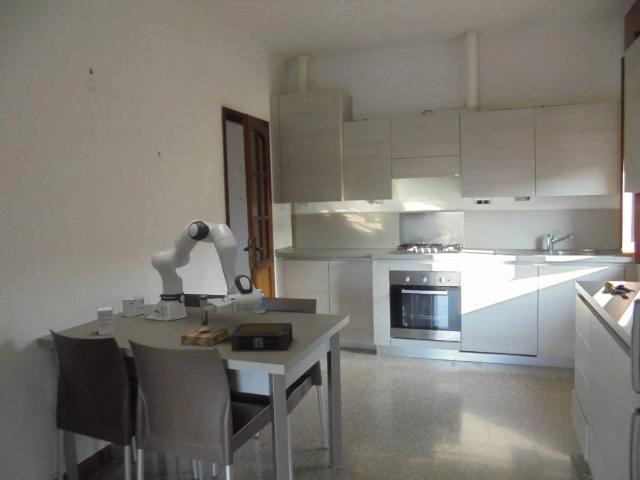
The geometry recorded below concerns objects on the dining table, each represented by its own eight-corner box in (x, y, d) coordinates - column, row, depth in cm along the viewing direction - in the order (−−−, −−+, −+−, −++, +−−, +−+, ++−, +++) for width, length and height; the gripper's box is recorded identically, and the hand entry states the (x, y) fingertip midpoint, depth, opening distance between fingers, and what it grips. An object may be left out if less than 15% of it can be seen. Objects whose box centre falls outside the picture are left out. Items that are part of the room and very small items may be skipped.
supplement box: (98, 332, 254) (97, 308, 253) (114, 330, 257) (112, 306, 256) (98, 335, 248) (96, 310, 247) (114, 333, 250) (112, 309, 249)
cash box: (230, 352, 214) (229, 334, 213) (241, 338, 234) (240, 323, 234) (287, 351, 212) (286, 334, 211) (293, 338, 232) (292, 322, 232)
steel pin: (198, 325, 230) (196, 296, 229) (203, 323, 235) (201, 294, 233) (206, 325, 229) (205, 296, 228) (211, 323, 233) (209, 294, 232)
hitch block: (181, 344, 227) (180, 335, 227) (199, 335, 242) (198, 327, 242) (212, 346, 223) (212, 337, 222) (228, 336, 238) (228, 328, 238)
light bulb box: (138, 313, 296) (137, 295, 295) (145, 314, 292) (144, 296, 291) (122, 316, 287) (121, 298, 286) (129, 318, 283) (128, 299, 282)
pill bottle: (260, 310, 292) (259, 288, 291) (268, 312, 287) (267, 289, 286) (250, 312, 287) (249, 290, 286) (257, 314, 282) (256, 291, 281)
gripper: (223, 294, 246) (195, 297, 239) (237, 300, 228) (207, 304, 222) (223, 306, 247) (196, 310, 240) (237, 314, 229) (208, 318, 222)
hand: (202, 307), depth 231 cm, fingers closed on steel pin, 3 cm apart
